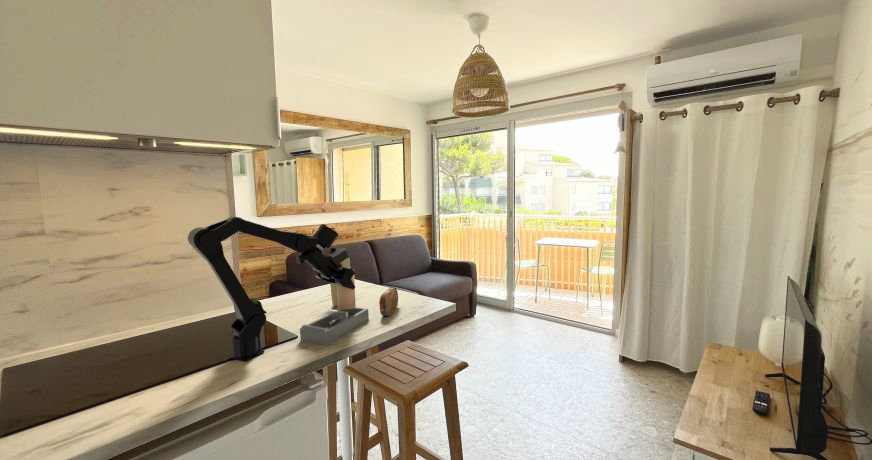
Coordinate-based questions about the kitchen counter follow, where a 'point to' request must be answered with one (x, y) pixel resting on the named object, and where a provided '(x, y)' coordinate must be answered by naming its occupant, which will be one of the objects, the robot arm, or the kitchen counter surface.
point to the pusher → (336, 317)
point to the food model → (334, 286)
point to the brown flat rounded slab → (388, 302)
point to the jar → (346, 297)
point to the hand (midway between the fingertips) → (349, 286)
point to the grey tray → (332, 327)
